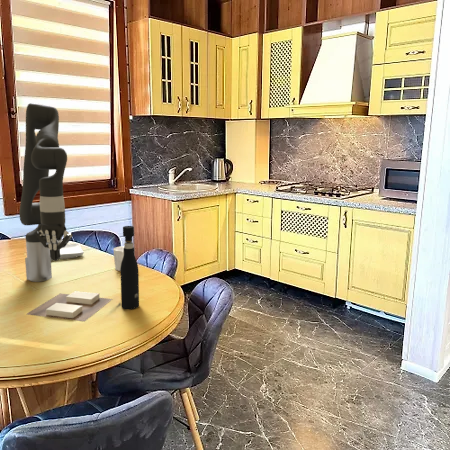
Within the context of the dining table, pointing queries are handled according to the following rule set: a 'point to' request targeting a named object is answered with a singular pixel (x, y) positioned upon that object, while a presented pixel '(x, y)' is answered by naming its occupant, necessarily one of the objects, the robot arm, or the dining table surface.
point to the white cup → (118, 257)
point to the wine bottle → (129, 273)
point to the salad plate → (71, 251)
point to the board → (61, 298)
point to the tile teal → (82, 297)
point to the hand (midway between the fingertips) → (55, 259)
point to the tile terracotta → (64, 310)
